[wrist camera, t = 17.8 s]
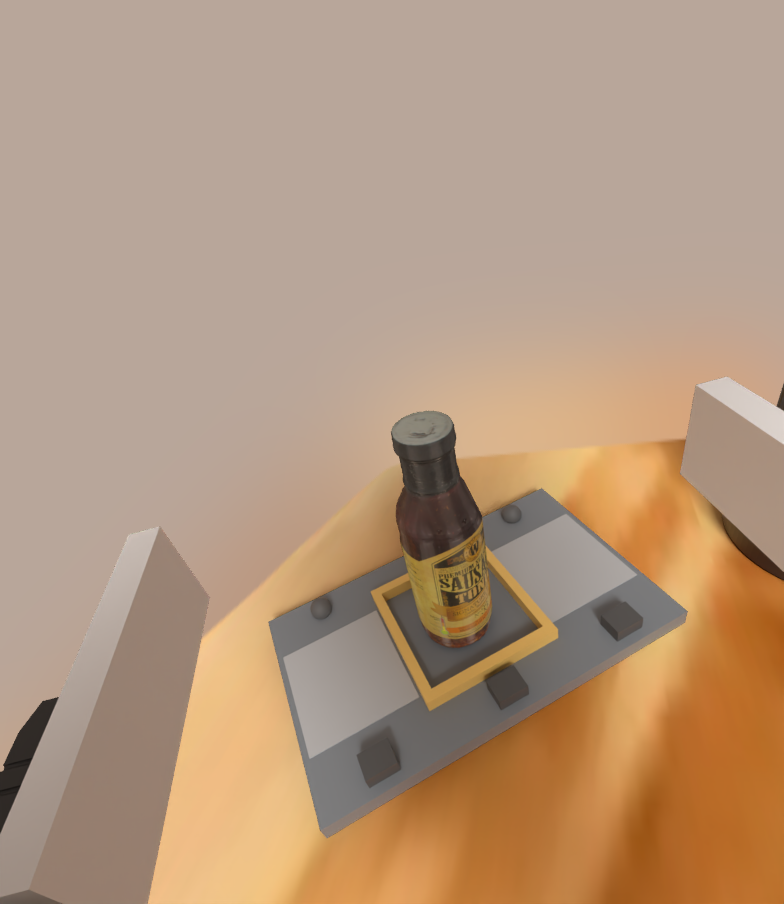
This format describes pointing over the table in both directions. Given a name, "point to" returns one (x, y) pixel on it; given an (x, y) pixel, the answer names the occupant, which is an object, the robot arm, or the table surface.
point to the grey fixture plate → (455, 657)
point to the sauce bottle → (441, 532)
